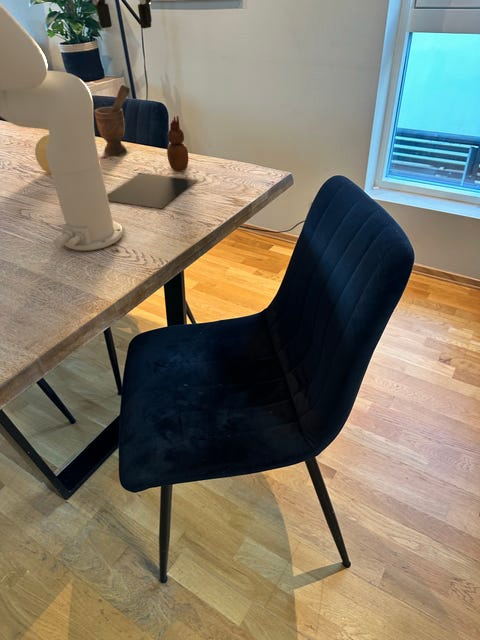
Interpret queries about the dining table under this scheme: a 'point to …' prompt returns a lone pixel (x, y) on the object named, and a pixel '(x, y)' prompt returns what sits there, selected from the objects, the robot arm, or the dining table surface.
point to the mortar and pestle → (113, 124)
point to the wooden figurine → (177, 147)
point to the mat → (150, 191)
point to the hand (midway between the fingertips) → (126, 27)
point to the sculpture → (42, 153)
